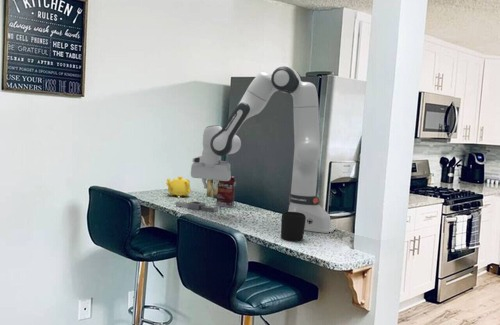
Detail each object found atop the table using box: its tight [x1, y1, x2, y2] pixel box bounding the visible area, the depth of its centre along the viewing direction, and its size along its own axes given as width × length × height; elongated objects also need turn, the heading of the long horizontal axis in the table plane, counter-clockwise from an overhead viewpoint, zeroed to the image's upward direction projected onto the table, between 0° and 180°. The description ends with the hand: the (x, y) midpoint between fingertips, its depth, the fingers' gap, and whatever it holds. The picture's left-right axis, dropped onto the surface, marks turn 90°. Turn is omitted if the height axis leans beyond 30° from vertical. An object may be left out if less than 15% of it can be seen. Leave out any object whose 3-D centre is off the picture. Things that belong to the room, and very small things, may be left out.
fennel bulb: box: [212, 182, 218, 198], centre depth 284 cm, size 6×5×12 cm
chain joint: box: [174, 200, 219, 214], centre depth 243 cm, size 22×6×3 cm, turn 65°
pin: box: [206, 179, 214, 198], centre depth 234 cm, size 3×3×8 cm
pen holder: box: [280, 211, 306, 242], centre depth 194 cm, size 9×9×10 cm
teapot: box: [165, 176, 191, 197], centre depth 278 cm, size 14×14×11 cm
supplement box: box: [215, 175, 237, 208], centre depth 257 cm, size 9×5×16 cm, turn 76°
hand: (210, 188), depth 234 cm, fingers closed on pin, 3 cm apart
